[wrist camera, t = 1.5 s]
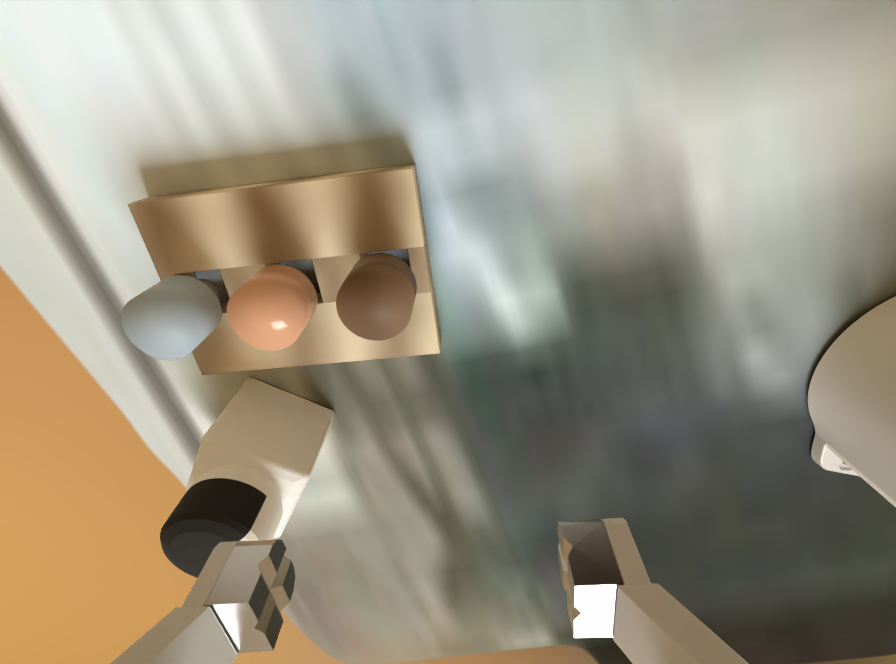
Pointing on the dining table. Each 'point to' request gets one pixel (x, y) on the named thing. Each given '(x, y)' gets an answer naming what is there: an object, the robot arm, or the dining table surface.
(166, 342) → the slate-blue button
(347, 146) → the dining table surface
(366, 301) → the brown rounded piece
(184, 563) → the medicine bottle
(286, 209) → the button board
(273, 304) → the peach rounded knob
